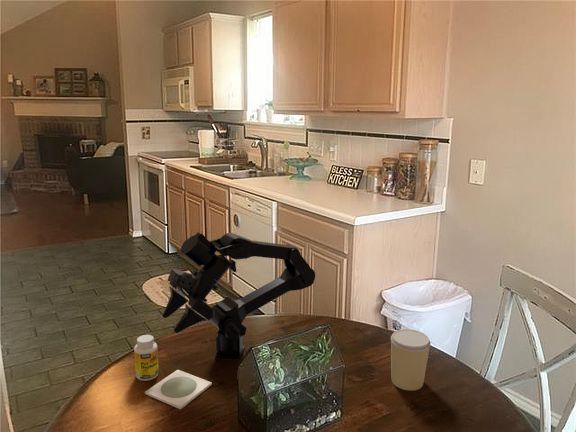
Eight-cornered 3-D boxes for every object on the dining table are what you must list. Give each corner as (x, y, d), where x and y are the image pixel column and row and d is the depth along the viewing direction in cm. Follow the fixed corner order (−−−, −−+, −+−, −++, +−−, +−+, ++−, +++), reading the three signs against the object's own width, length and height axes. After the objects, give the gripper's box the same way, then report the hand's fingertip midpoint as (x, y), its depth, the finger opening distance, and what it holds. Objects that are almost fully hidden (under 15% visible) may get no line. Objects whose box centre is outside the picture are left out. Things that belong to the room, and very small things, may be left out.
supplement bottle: (139, 384, 115) (137, 346, 112) (133, 373, 119) (130, 336, 117) (162, 377, 118) (160, 340, 115) (155, 367, 122) (152, 330, 120)
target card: (177, 371, 120) (177, 369, 120) (211, 384, 115) (211, 382, 115) (145, 394, 111) (144, 391, 111) (180, 409, 105) (180, 406, 105)
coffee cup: (429, 376, 119) (433, 333, 116) (423, 396, 111) (427, 350, 108) (392, 367, 123) (395, 325, 120) (383, 386, 115) (386, 341, 112)
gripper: (175, 247, 125) (135, 294, 122) (200, 269, 109) (155, 323, 106) (204, 270, 131) (166, 316, 128) (232, 294, 115) (190, 346, 112)
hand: (169, 324), depth 118 cm, fingers open, 9 cm apart
